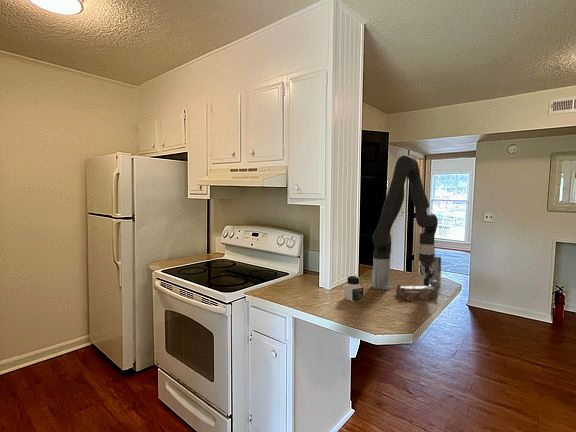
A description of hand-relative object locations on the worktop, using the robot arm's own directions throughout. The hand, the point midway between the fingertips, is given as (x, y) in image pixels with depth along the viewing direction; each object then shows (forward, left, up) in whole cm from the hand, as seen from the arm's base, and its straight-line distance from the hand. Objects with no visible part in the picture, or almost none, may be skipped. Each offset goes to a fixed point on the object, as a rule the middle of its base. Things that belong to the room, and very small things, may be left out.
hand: (426, 285), depth 167 cm
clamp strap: (-5, 0, -2) cm, 6 cm away
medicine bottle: (-38, -2, -6) cm, 39 cm away
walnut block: (-6, 0, -6) cm, 8 cm away
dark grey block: (+4, 0, -6) cm, 7 cm away
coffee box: (+13, +20, -6) cm, 25 cm away
